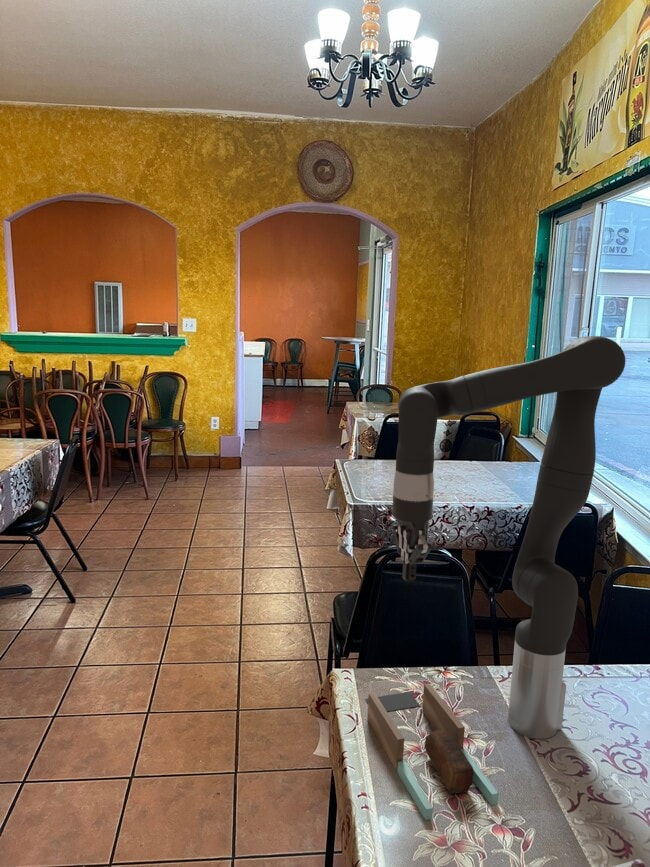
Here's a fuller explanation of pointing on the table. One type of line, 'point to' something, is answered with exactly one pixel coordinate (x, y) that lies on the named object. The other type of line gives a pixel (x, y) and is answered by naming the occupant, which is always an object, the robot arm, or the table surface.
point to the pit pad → (398, 701)
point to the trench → (433, 711)
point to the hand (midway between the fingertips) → (408, 579)
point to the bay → (423, 801)
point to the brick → (449, 761)
